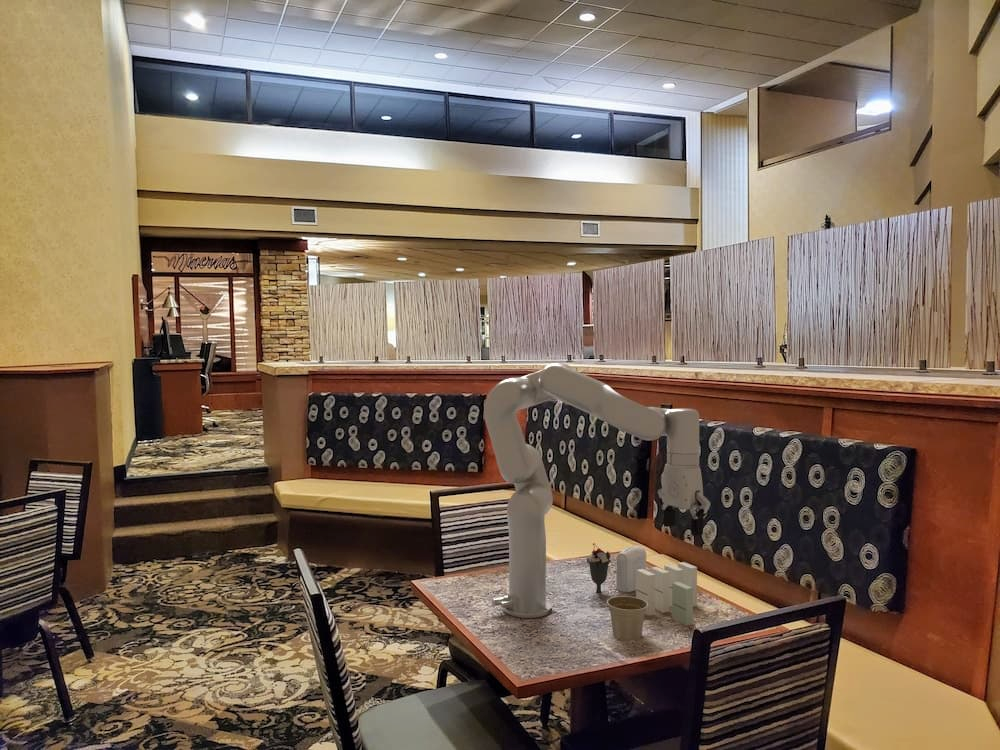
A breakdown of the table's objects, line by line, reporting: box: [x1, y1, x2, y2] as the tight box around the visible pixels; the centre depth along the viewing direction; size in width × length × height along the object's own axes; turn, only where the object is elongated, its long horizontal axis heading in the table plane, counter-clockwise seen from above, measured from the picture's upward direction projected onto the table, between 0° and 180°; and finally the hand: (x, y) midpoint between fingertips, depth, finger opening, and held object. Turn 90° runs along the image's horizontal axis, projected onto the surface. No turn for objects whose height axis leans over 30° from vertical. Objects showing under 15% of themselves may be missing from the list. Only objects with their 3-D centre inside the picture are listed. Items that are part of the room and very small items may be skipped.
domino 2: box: [649, 566, 669, 613], centre depth 172 cm, size 2×5×10 cm, turn 26°
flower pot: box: [606, 595, 648, 642], centre depth 155 cm, size 9×9×9 cm
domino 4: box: [677, 561, 698, 607], centre depth 176 cm, size 2×5×10 cm, turn 26°
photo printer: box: [616, 545, 647, 593], centre depth 189 cm, size 10×4×12 cm, turn 134°
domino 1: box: [635, 569, 655, 616], centre depth 170 cm, size 2×5×10 cm, turn 26°
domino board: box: [644, 603, 706, 621], centre depth 172 cm, size 23×9×1 cm, turn 116°
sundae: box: [586, 542, 612, 595], centre depth 184 cm, size 7×7×15 cm
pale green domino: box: [671, 582, 694, 627], centre depth 163 cm, size 2×5×10 cm, turn 26°
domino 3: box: [663, 563, 683, 607], centre depth 174 cm, size 2×5×10 cm, turn 26°
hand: (682, 530), depth 163 cm, fingers open, 9 cm apart
